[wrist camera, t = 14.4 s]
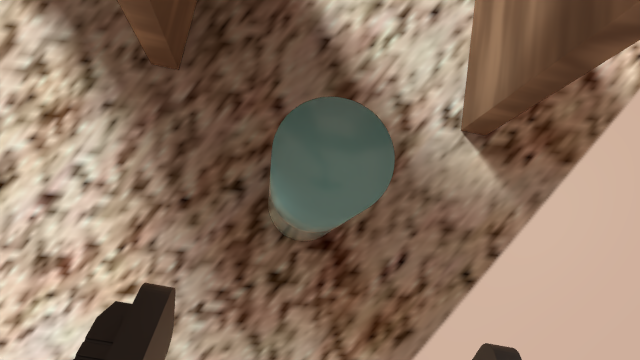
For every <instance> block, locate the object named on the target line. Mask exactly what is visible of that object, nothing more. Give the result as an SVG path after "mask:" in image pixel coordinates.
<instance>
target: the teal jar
mask: <svg viewBox="0 0 640 360" xmlns="http://www.w3.org/2000/svg"><path fill="white" fill-rule="evenodd" d="M394 163H395V155H394V148H393V143H392V140H391V137H390V135H389V133H388V131H387V129H386V127H385V126H384V124H383V123H382V122H381V120H380V119H379V118H378V117H377V116H376V115H375V114H374V113H373V112H372V111H370V110H369V109H368V108H366V107H365V106H363V105H361V104H359V103H357V102H355V101H352V100H349V99H346V98H340V97H321V98H316V99H312V100H310V101H307V102H305V103H303V104H301V105H299V106H298V107H296V108H295V109H294V110H292V111H291V112H290V113H289V114H288V115H287V116H286V117H285V118H284V120H283V121H282V122H281V124H280V126H279V127H278V129H277V132H276V134H275V137H274V140H273V145H272V155H271V170H270V186H269V201H268V208H269V214H270V217H271V220H272V222H273V223H274V225H275V226H276V228H277V229H278V230H279V231H280V232H281V233H282V234H284V235H285V236H287V237H289V238H291V239H294V240H298V241H311V240H315V239H318V238H320V237H322V236H324V235H325V234H327V233H329V232H330V231H332V230H333V229H335V228H337V227H338V226H340V225H341V224H343V223H345V222H346V221H348V220H349V219H351V218H353V217H354V216H356V215H357V214H359V213H361V212H362V211H364V210H365V209H367V208H369V207H370V206H372V205H373V204H374V203H375V202H376V201H377V200H378V199H379V198H380V197H381V196H382V195H383V193H384V192H385V191H386V189H387V187H388V185H389V183H390V181H391V178H392V175H393V171H394Z"/></svg>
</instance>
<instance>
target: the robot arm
mask: <svg viewBox="0 0 640 360" xmlns="http://www.w3.org/2000/svg"><path fill="white" fill-rule="evenodd" d="M174 309H175V288H172V287H166V286H160V285H155V284H149V283H144V284H143V285H142V286H141V288H140V290H139V292H138V294H137V296H136V298H135V300H134V302H133V304H128V303H123V302H117V301H115V302H114V303H113V304H112V305H111V306H110V307H108V308H107V309H106V310H105V311H104V312H103V313H101V314H100V315H99V316H98V317H97V318H96V320H95V322H94V323H93V325H92V327H91V329H90V331H89V332H88V334H87V336H86V338H85V341H84V342H83V343H82V345H81V347H80V348H79V350H78V352H77V354H76V357H75V359H73V360H165V357H166V354H167V352H168V349H169V345H170V342H171V338H172V333H173V326H174ZM472 360H522V359H521V357H520V355H519V353H518V351H517V350H516V349H514V348H510V347H504V346H499V345H493V344H487V343H485V344H483V345H482V346H481V347H480V349H479V350H478V352H477V353H476V355H475V357H474V358H473V359H472Z"/></svg>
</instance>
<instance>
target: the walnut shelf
mask: <svg viewBox="0 0 640 360" xmlns="http://www.w3.org/2000/svg"><path fill="white" fill-rule="evenodd" d="M117 1H118V3H119V5H120V7H121V8H122V10H123V12H124V14H125V16H126V18H127V20H128V21H129V23H130V25H131V27H132V29H133V31H134V33H135V34H136V36H137V38H138V40H139V42H140V44H141V46H142V48H143V49H144V51H145V53H146V55H147V57H148V59H149V61H150V62H151V64H153V65H158V66H162V67H167V68H172V69H176V70H179V67H180V63H181V59H182V56H183V52H184V48H185V44H186V41H187V37H188V33H189V29H190V26H191V22H192V18H193V14H194V11H195V7H196V3H197V0H117ZM639 40H640V0H475V8H474V17H473V26H472V35H471V44H470V53H469V62H468V72H467V81H466V90H465V99H464V108H463V117H462V126H461V130H462V131H466V132H471V133H476V134H480V135H487V134H489V133H490V132H492V131H493V130H495V129H497V128H498V127H500V126H502V125H503V124H505V123H506V122H508V121H510V120H511V119H513V118H514V117H516V116H518V115H519V114H521V113H523V112H524V111H526V110H527V109H529V108H531V107H532V106H534V105H535V104H537V103H539V102H540V101H542V100H543V99H545V98H547V97H548V96H550V95H552V94H553V93H555V92H556V91H558V90H560V89H561V88H563V87H564V86H566V85H568V84H569V83H571V82H573V81H574V80H576V79H577V78H579V77H581V76H582V75H584V74H585V73H587V72H589V71H590V70H592V69H594V68H595V67H597V66H598V65H600V64H602V63H603V62H605V61H606V60H608V59H610V58H611V57H613V56H615V55H616V54H618V53H619V52H621V51H623V50H624V49H626V48H627V47H629V46H631V45H632V44H634V43H636V42H637V41H639Z"/></svg>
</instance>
